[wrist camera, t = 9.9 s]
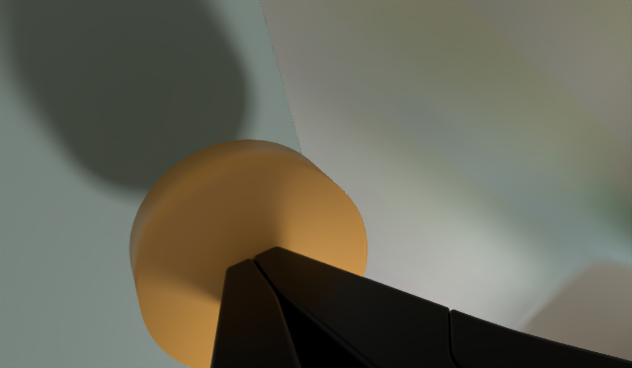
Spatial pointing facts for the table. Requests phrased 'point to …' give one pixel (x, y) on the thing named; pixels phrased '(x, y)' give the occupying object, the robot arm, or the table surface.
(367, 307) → the robot arm
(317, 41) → the table surface
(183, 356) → the tan round piece
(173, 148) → the grey green box
